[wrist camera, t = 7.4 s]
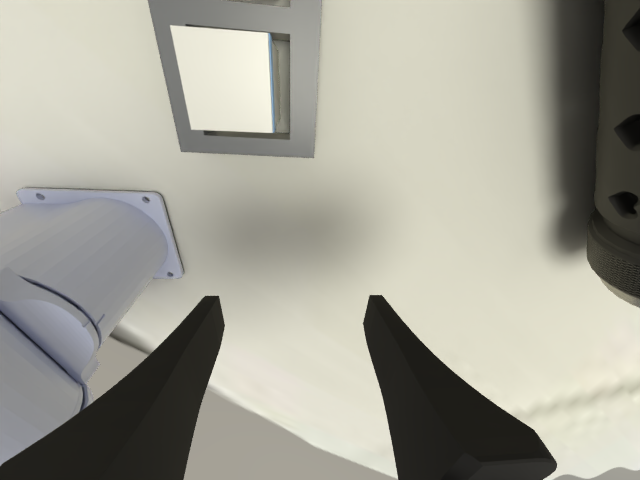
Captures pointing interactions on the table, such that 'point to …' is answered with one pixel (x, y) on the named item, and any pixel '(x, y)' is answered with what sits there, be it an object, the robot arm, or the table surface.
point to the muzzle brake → (618, 156)
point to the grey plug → (228, 78)
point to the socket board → (281, 22)
